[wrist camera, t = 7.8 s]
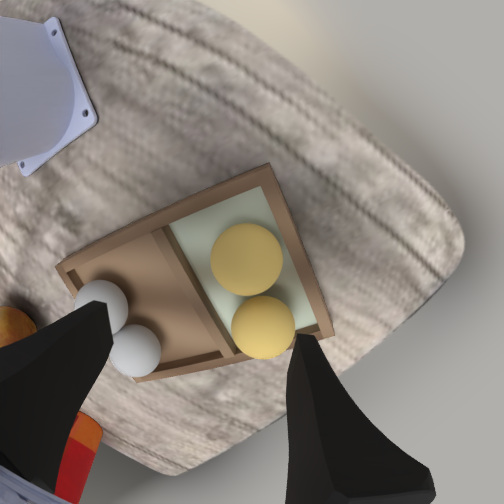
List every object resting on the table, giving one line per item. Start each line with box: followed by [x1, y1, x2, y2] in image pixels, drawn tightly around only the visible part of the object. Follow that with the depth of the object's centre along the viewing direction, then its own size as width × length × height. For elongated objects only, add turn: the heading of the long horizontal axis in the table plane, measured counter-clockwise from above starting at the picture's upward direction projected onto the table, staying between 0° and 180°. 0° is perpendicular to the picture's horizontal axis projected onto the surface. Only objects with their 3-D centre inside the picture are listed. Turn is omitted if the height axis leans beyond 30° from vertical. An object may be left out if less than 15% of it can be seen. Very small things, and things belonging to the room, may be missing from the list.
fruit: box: [0, 306, 37, 347], centre depth 23 cm, size 8×8×8 cm
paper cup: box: [53, 411, 103, 504], centre depth 26 cm, size 8×8×14 cm
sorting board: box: [55, 163, 335, 383], centre depth 22 cm, size 12×17×2 cm
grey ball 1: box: [74, 280, 128, 335], centre depth 21 cm, size 4×4×4 cm
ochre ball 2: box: [231, 296, 295, 359], centre depth 20 cm, size 4×4×4 cm
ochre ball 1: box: [210, 223, 283, 296], centre depth 18 cm, size 4×4×4 cm
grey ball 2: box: [109, 324, 161, 377], centre depth 22 cm, size 4×4×4 cm
